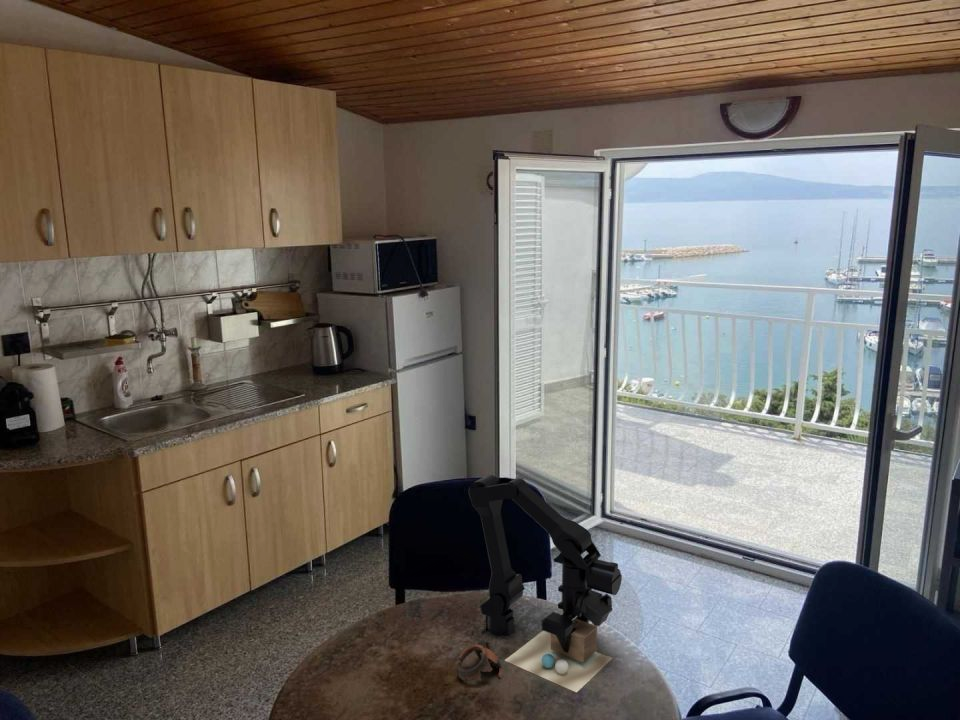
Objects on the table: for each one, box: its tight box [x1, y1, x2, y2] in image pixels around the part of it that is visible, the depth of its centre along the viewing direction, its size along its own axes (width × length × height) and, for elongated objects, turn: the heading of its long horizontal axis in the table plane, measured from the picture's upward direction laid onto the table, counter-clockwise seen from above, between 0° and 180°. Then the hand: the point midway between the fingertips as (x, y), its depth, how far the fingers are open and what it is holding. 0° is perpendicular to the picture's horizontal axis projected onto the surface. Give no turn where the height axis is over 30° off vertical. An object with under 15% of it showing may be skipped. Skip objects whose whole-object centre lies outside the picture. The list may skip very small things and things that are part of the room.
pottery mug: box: [456, 638, 504, 682], centre depth 157 cm, size 12×10×8 cm
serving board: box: [504, 630, 613, 693], centre depth 162 cm, size 19×16×1 cm
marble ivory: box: [555, 659, 569, 674], centre depth 156 cm, size 3×3×3 cm
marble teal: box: [541, 654, 555, 668], centre depth 158 cm, size 3×3×3 cm
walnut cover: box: [550, 618, 598, 662], centre depth 163 cm, size 9×6×7 cm
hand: (573, 645), depth 163 cm, fingers closed on walnut cover, 6 cm apart
